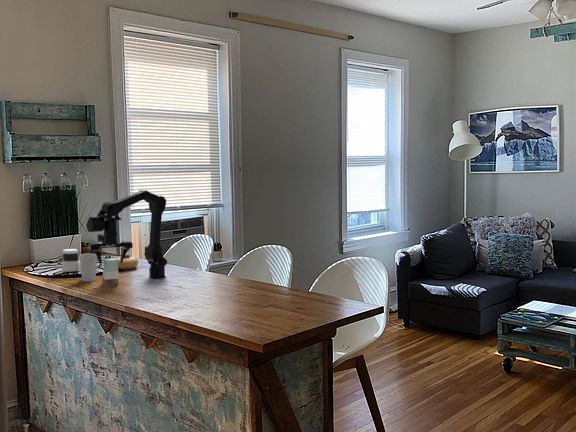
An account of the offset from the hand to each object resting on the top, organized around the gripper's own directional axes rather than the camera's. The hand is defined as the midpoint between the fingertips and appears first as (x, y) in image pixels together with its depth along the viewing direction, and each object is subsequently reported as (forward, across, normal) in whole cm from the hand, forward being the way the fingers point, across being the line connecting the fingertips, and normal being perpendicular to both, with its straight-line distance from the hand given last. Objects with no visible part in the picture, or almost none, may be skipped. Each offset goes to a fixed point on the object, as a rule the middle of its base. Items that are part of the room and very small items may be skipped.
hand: (110, 264), depth 282 cm
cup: (+10, +7, -14) cm, 18 cm away
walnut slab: (+10, 0, 0) cm, 10 cm away
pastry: (+10, -16, -34) cm, 39 cm away
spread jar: (+10, +10, -32) cm, 35 cm away
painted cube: (+3, 0, 0) cm, 3 cm away
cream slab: (+6, 0, 0) cm, 6 cm away
